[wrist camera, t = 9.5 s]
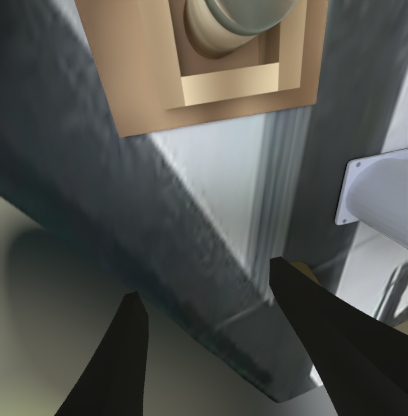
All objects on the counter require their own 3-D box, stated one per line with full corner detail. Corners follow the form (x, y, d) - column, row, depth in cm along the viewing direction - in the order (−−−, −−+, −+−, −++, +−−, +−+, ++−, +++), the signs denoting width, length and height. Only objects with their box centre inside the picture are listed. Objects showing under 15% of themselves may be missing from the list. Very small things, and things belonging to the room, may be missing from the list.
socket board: (332, -129, 12) (405, -225, 8) (308, 103, 18) (344, 104, 14) (42, -112, 10) (-20, -220, 7) (122, 135, 16) (111, 145, 13)
